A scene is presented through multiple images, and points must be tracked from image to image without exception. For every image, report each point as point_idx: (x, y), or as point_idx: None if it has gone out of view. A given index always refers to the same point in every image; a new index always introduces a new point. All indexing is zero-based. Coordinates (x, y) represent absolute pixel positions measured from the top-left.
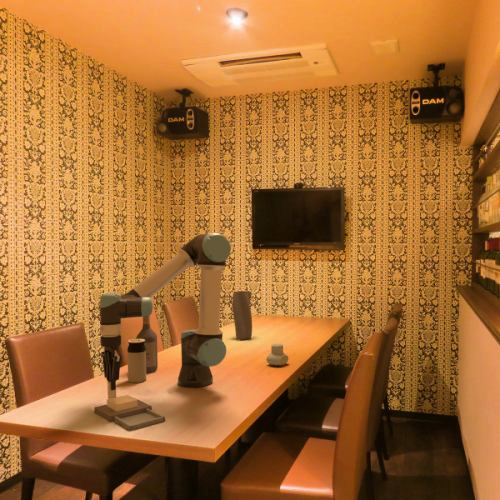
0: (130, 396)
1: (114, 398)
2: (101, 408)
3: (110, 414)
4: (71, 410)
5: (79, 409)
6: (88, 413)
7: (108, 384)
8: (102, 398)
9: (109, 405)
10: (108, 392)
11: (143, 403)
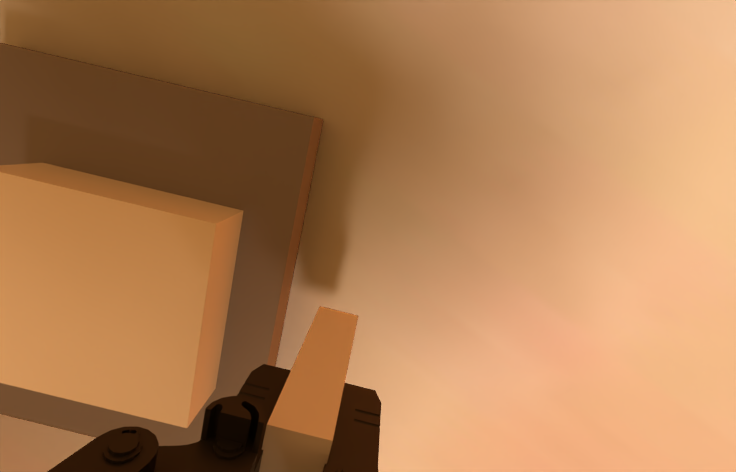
0: (113, 407)
1: (177, 284)
2: (224, 135)
3: (8, 73)
4: (568, 34)
5: (523, 99)
6: (354, 79)
7: (304, 399)
8: (589, 399)
9: (183, 201)
10: (328, 341)
11: (69, 416)
